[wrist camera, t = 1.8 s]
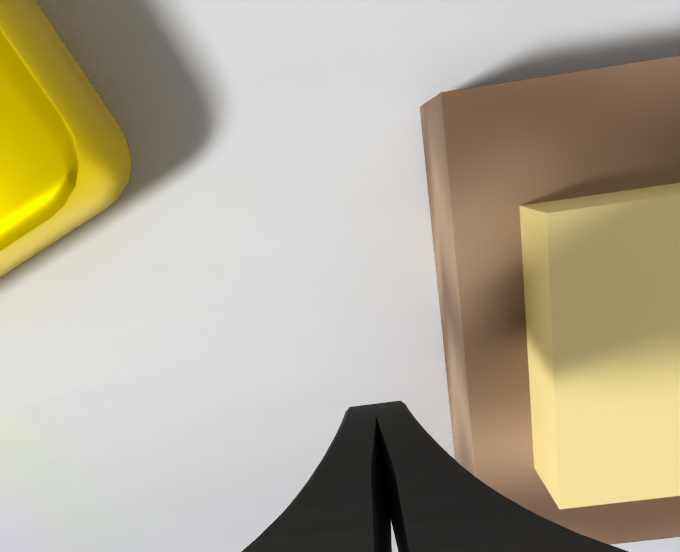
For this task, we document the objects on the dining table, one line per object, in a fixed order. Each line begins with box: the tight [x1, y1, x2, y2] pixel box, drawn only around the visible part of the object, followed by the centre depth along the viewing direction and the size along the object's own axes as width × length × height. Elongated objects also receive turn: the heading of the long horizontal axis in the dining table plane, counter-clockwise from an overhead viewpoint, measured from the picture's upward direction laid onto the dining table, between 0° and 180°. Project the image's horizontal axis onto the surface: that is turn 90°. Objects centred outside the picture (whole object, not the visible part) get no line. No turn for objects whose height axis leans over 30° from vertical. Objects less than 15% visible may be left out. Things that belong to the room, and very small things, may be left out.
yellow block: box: [519, 183, 680, 509], centre depth 14 cm, size 9×6×2 cm, turn 8°
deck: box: [420, 56, 680, 544], centre depth 17 cm, size 16×12×4 cm
